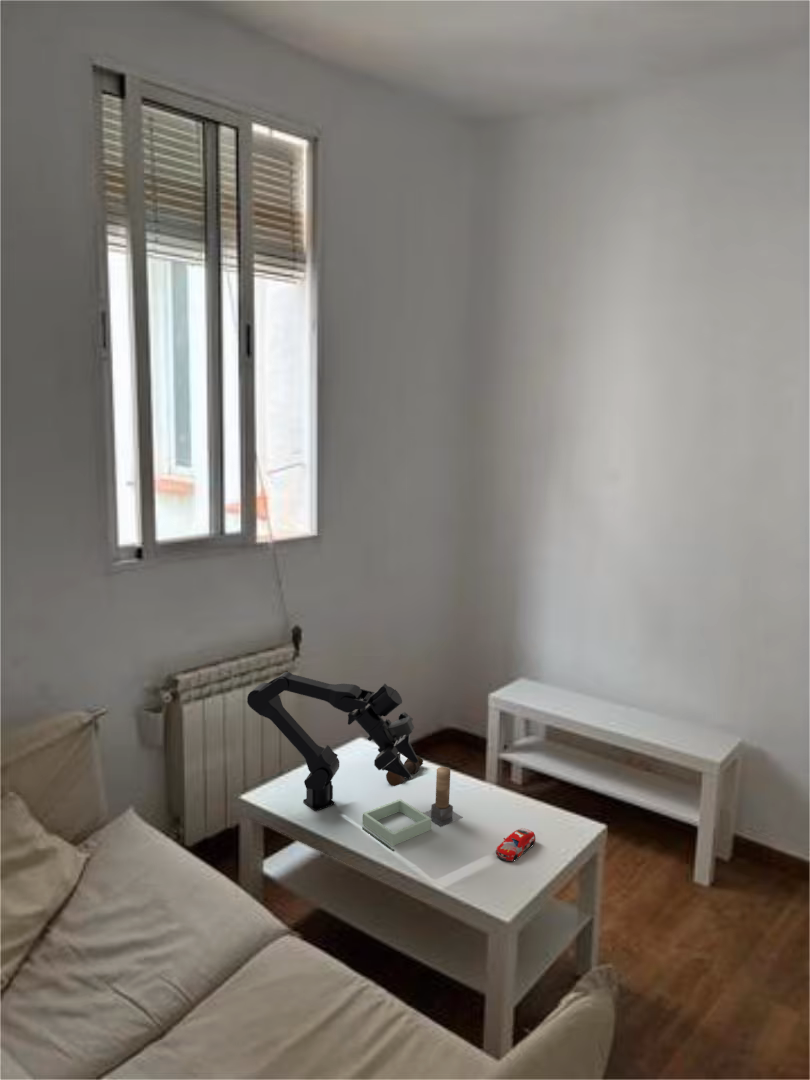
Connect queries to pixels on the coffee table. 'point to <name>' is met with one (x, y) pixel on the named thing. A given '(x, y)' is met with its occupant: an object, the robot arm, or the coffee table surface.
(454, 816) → the square lid with knob
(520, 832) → the race car
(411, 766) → the bolt
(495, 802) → the coffee table surface
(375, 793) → the coffee table surface
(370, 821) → the bin
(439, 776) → the brown peg with base
